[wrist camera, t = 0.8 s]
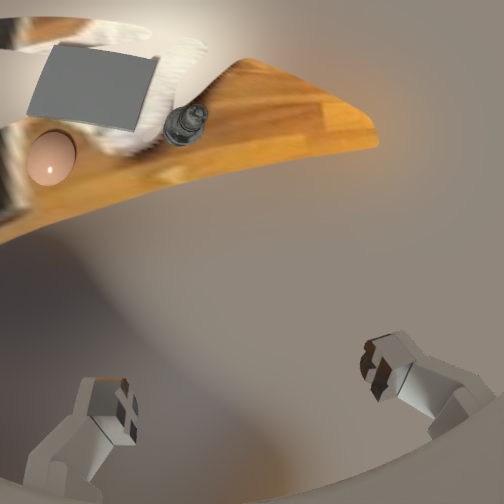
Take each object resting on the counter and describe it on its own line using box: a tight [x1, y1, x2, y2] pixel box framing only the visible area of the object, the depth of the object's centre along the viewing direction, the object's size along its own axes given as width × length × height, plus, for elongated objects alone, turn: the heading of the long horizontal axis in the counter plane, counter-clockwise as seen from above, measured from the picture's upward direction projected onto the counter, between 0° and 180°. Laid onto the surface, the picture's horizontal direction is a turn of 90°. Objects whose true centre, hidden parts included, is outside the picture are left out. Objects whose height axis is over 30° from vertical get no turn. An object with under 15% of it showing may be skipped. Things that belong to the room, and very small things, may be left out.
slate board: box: [27, 45, 157, 132], centre depth 33 cm, size 18×12×2 cm, turn 77°
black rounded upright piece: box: [163, 104, 208, 146], centre depth 37 cm, size 6×6×12 cm
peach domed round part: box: [27, 132, 75, 186], centre depth 34 cm, size 8×8×1 cm
